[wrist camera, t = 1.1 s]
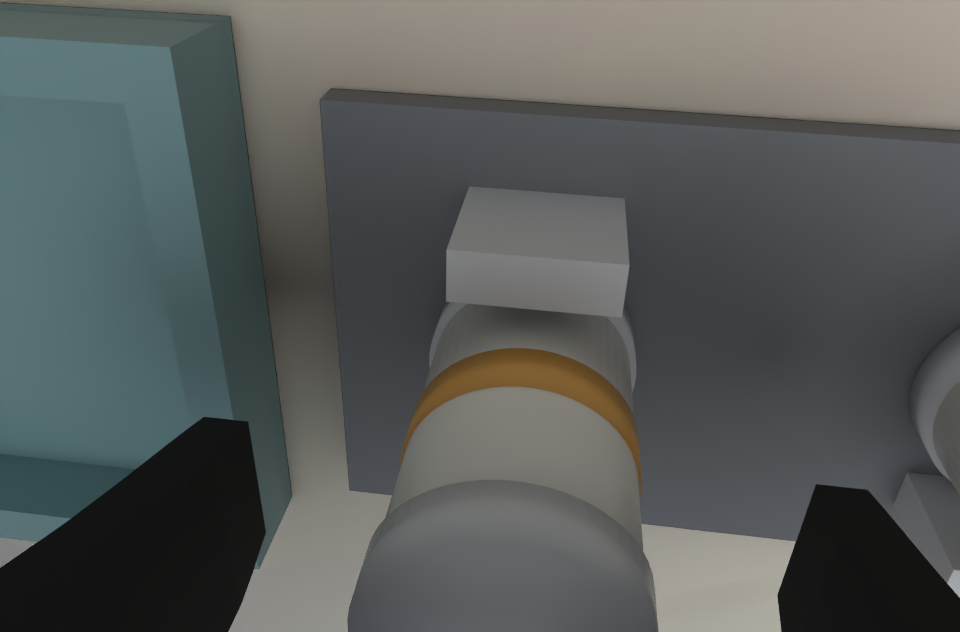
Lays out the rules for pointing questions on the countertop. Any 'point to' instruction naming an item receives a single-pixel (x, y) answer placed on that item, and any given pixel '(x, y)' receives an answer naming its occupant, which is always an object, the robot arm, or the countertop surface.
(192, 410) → the tray
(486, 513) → the marked fuse
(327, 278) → the countertop surface
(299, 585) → the countertop surface
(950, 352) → the cylinder
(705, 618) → the countertop surface
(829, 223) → the fuse board
